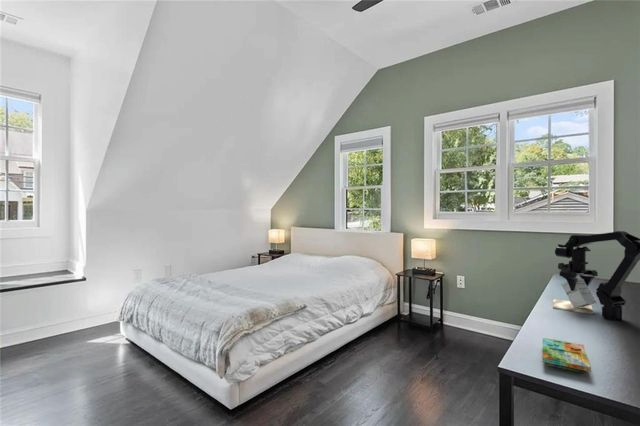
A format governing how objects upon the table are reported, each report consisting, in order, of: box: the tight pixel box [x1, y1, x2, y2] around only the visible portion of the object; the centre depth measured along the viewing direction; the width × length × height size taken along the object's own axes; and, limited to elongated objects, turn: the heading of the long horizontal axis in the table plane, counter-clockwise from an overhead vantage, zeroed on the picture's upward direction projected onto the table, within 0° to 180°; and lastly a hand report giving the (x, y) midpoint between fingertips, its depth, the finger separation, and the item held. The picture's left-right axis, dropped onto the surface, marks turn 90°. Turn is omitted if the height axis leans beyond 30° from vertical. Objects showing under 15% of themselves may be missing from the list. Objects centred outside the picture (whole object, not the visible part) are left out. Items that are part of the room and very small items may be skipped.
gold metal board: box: [552, 299, 595, 315], centre depth 170 cm, size 16×18×1 cm
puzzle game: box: [542, 337, 592, 374], centre depth 109 cm, size 12×5×20 cm
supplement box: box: [560, 278, 597, 308], centre depth 166 cm, size 7×7×13 cm
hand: (578, 290), depth 166 cm, fingers open, 8 cm apart
